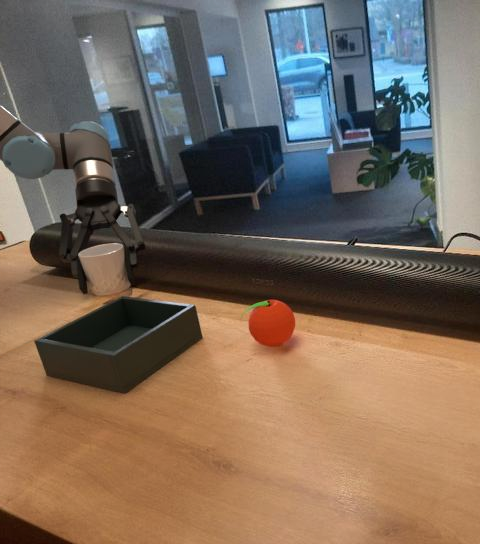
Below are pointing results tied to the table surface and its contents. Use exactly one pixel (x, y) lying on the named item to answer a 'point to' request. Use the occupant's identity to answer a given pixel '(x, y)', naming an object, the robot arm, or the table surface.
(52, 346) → the open dark box
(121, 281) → the white cup
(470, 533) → the table surface
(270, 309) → the clementine
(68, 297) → the table surface
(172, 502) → the table surface
